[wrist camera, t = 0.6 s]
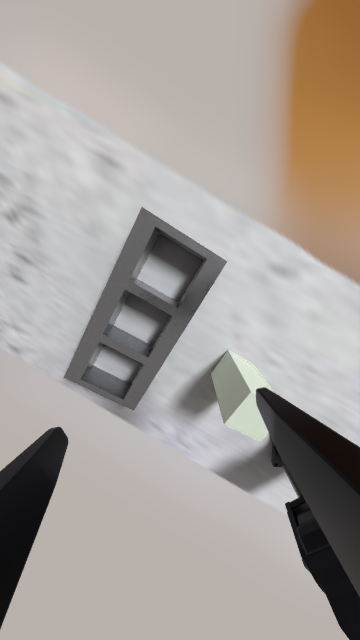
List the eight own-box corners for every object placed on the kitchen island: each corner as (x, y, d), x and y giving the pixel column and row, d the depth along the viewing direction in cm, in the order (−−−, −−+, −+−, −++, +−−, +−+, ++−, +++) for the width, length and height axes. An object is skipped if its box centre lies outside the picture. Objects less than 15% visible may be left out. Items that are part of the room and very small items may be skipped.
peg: (253, 364, 23) (288, 412, 15) (235, 386, 24) (260, 442, 16) (227, 349, 23) (251, 391, 15) (210, 373, 24) (224, 424, 16)
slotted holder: (139, 393, 25) (133, 410, 22) (78, 364, 23) (64, 377, 20) (220, 262, 20) (227, 261, 17) (148, 216, 18) (142, 207, 16)
